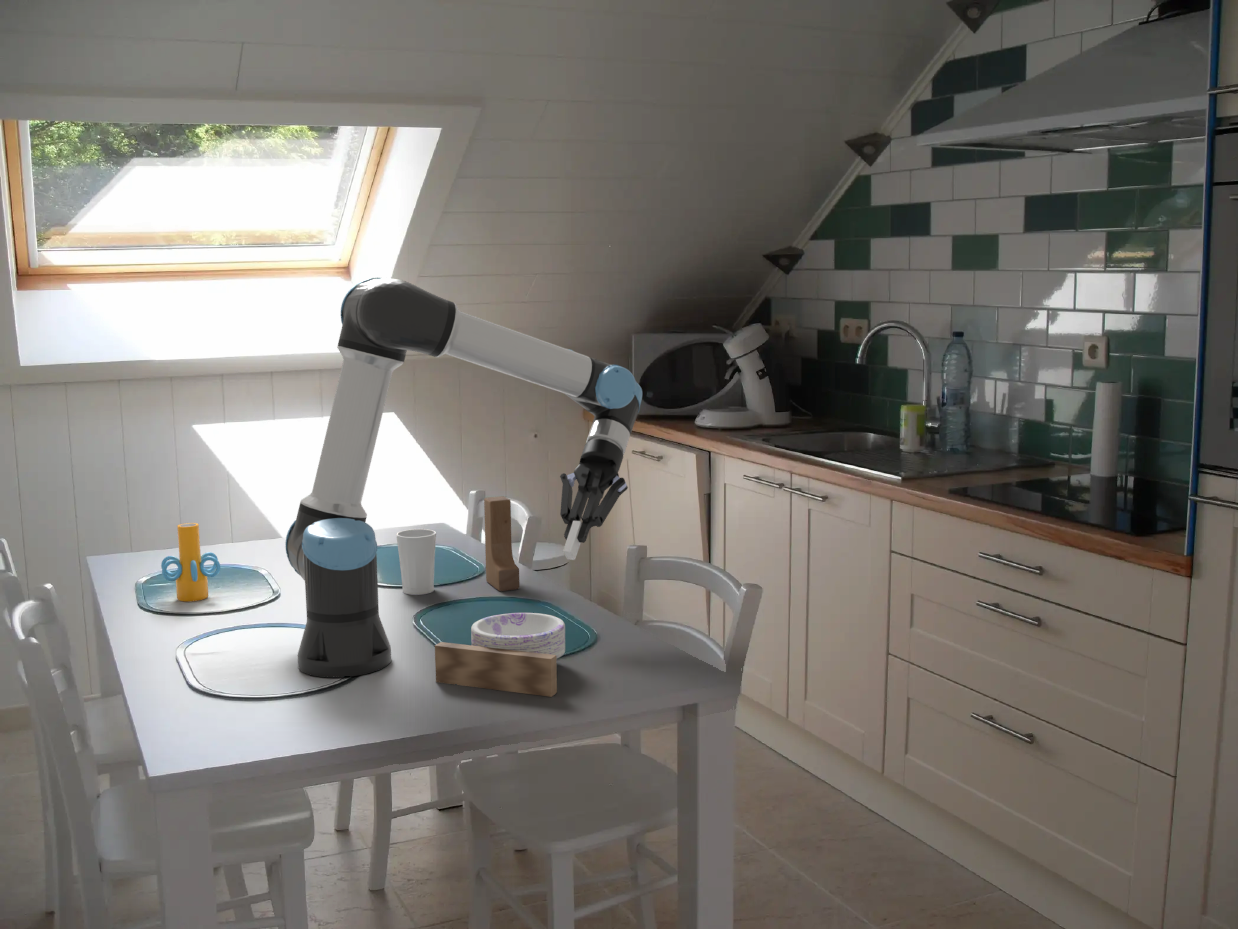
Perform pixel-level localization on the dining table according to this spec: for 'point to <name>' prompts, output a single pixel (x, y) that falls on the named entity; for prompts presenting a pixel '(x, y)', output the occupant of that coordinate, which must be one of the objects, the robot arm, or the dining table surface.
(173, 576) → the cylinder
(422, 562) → the cup
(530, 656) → the rail
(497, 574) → the wooden block
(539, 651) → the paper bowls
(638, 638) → the dining table surface
